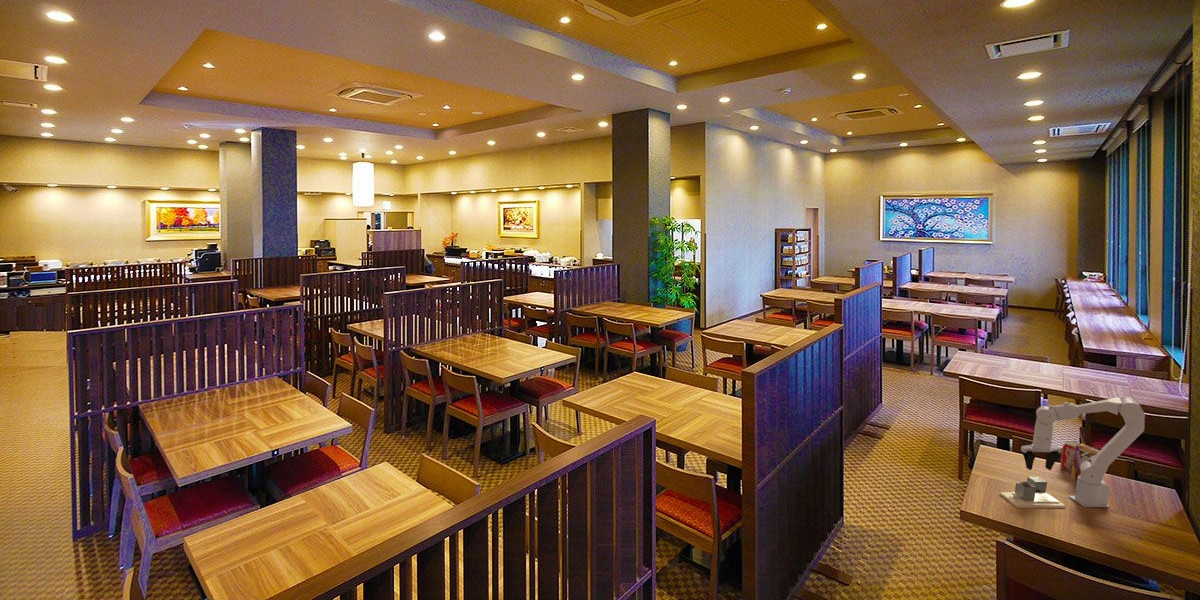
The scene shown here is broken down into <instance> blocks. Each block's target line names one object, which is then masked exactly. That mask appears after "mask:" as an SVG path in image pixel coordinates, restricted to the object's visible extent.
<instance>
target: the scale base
mask: <svg viewBox="0 0 1200 600" xmlns="http://www.w3.org/2000/svg"><path fill="white" fill-rule="evenodd" d="M1012 492H1013V491H1011V492H1010V491H1009V492H1008V491H1007V492H1006V491H1005V492H1004V491H1001V492H999V495H1000V496H1001V497H1002V498H1004V499H1005V500H1007V501H1008V502H1009V503H1010V504H1012V505H1013V506H1014V507H1016V508H1024V509H1025V508H1032V509H1033V508H1035V509H1037V508H1038V509H1040V508H1041V509H1044V508H1045V509H1065V508H1066V505H1065V504H1064V503H1062V502H1061V501H1059V503H1024V502H1023V501H1022V500H1020V499H1019V498H1018V497H1016V496H1015V495H1013V494H1012ZM1046 493H1047V492H1046ZM1047 494H1049V493H1047ZM1049 495H1050V496H1052V495H1051V494H1049ZM1052 497H1053V496H1052ZM1053 498H1055V497H1053Z"/></svg>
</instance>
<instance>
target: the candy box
mask: <svg viewBox="0 0 1200 600" xmlns="http://www.w3.org/2000/svg"><path fill="white" fill-rule="evenodd" d="M1100 450H1101V449H1100ZM1100 450H1099V449H1097V448H1094V447H1092V446H1090V445H1087V444H1084V443H1079V444H1077V445H1076V447H1075V454H1074V461H1073V468H1072V472H1071V475H1070V480H1073V481H1075V482H1077V479H1078V476H1079V475H1080V474H1081V470H1080V467H1079V466H1080V463H1081V462H1082V461H1085V460H1088V459H1089V458H1090V457H1091V456H1094V455H1096V454H1097V453H1098V452H1099V451H1100Z"/></svg>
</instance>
